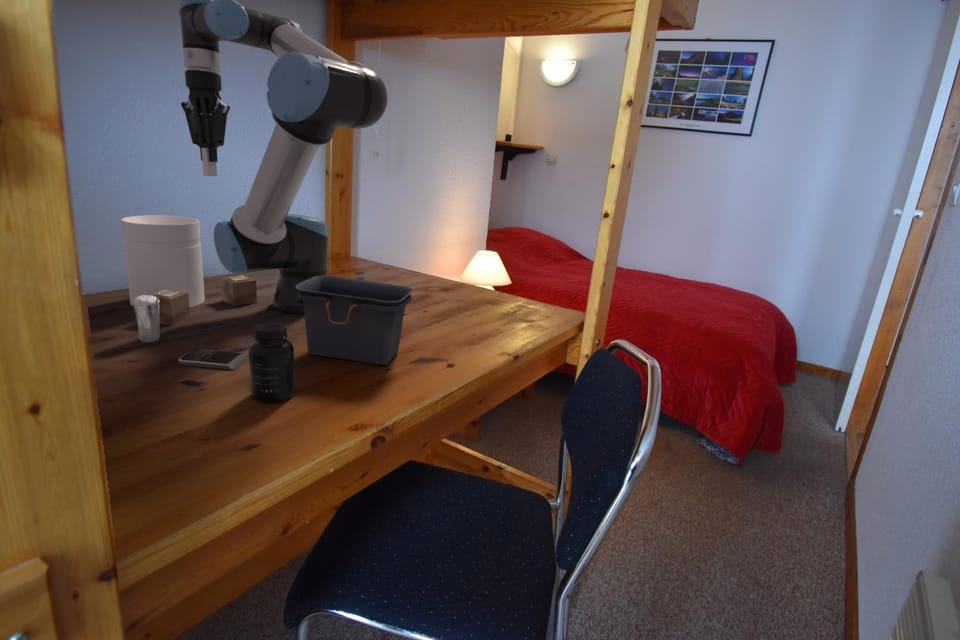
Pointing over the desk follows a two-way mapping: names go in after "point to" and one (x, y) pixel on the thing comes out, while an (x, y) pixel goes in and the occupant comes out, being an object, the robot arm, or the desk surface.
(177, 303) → the walnut block left
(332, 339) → the storage bin
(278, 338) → the supplement bottle
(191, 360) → the cell phone
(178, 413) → the desk surface
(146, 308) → the milkshake
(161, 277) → the canister
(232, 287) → the walnut block right
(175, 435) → the desk surface
